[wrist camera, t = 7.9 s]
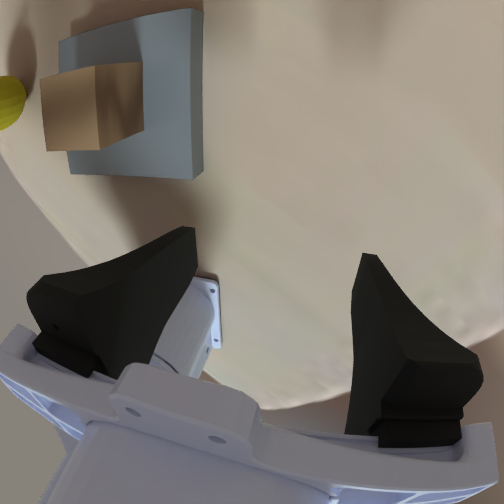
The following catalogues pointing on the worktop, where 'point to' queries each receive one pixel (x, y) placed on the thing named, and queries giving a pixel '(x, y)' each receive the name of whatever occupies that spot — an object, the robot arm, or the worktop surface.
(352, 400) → the robot arm
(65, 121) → the walnut block
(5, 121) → the lemon
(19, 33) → the worktop surface
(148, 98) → the slate tile
